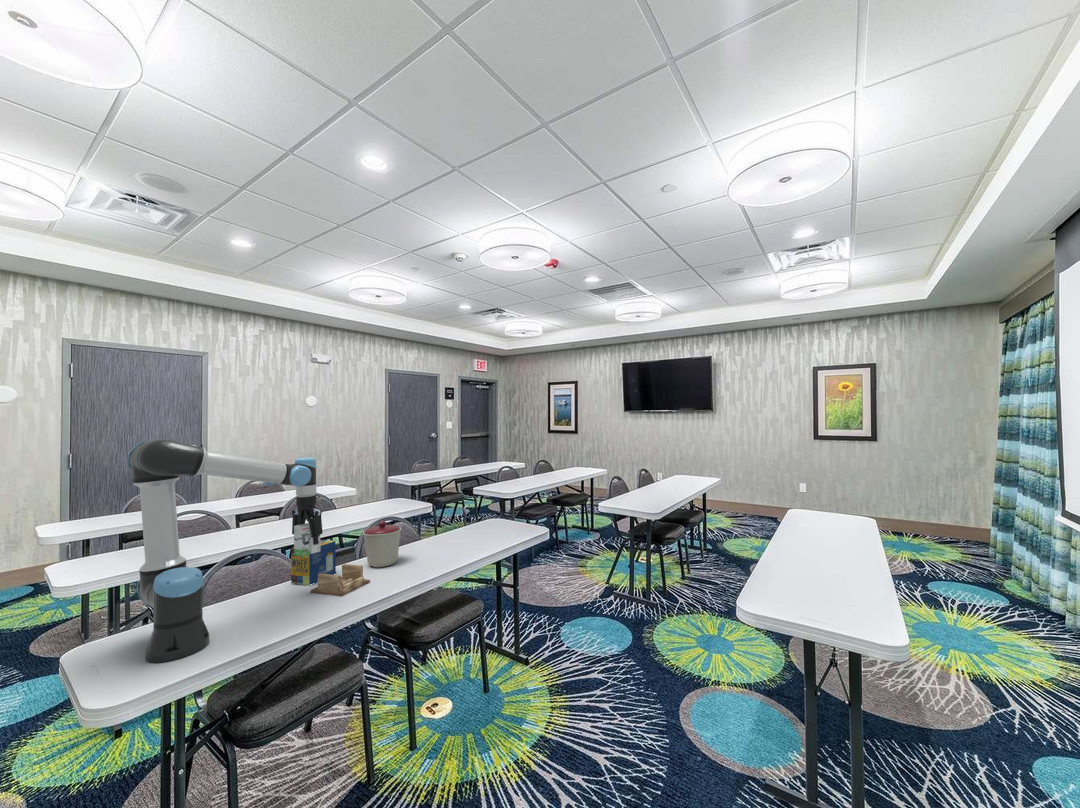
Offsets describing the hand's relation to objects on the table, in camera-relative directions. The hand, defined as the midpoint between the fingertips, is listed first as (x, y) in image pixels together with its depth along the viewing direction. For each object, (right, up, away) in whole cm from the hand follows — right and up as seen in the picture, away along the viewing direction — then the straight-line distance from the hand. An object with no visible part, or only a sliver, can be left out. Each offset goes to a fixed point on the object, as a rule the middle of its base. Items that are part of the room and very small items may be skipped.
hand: (307, 552), depth 180 cm
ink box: (0, -1, 0) cm, 1 cm away
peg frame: (+12, -16, +4) cm, 21 cm away
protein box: (-6, -18, +17) cm, 25 cm away
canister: (+18, -18, +35) cm, 43 cm away
